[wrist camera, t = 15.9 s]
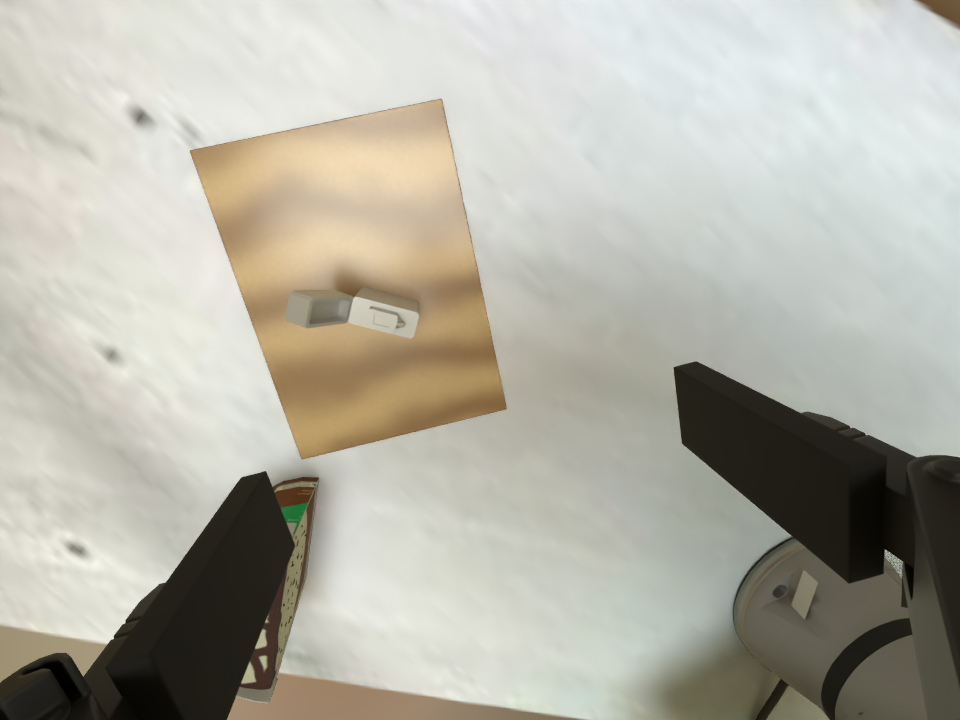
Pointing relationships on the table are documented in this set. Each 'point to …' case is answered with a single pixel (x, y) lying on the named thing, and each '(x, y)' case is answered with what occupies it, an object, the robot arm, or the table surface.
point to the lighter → (354, 310)
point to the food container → (283, 590)
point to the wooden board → (358, 272)
